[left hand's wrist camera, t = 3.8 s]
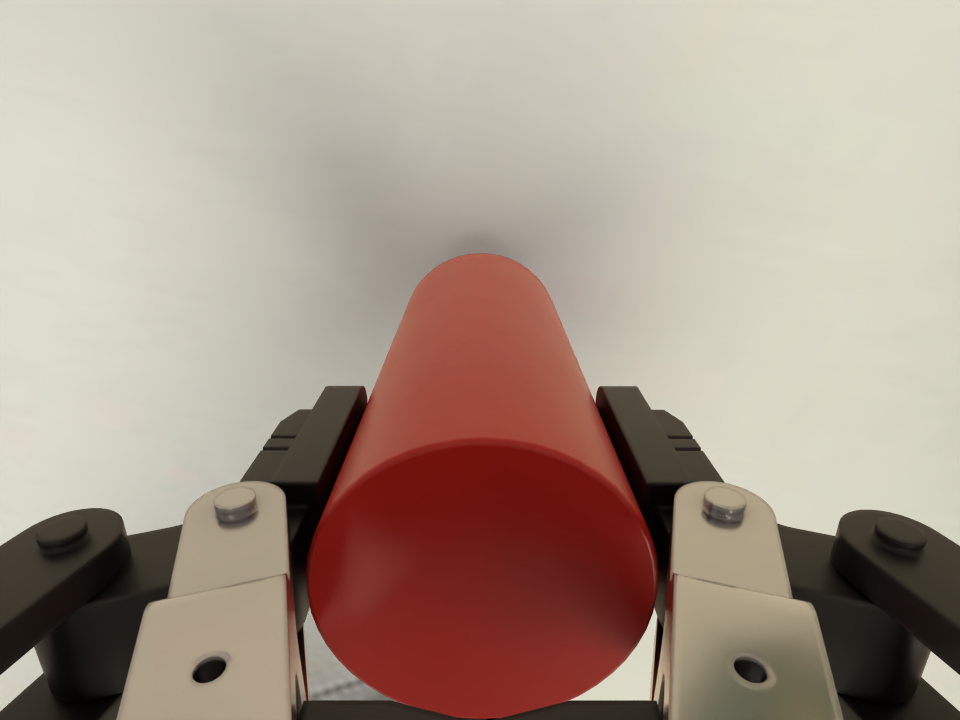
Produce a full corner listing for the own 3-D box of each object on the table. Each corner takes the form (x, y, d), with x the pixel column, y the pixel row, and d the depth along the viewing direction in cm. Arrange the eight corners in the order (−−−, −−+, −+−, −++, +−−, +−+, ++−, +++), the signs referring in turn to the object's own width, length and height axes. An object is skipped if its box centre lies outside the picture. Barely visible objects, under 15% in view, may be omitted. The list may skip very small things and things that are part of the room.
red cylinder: (495, 220, 17) (521, 366, 6) (585, 340, 18) (725, 621, 8) (374, 314, 18) (228, 569, 8) (467, 422, 19) (453, 765, 9)
